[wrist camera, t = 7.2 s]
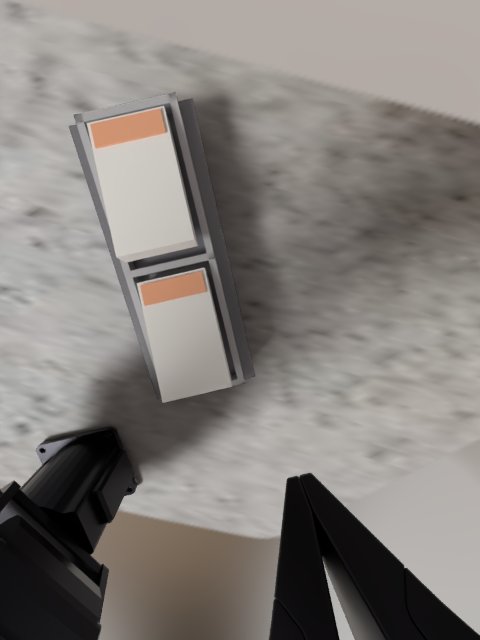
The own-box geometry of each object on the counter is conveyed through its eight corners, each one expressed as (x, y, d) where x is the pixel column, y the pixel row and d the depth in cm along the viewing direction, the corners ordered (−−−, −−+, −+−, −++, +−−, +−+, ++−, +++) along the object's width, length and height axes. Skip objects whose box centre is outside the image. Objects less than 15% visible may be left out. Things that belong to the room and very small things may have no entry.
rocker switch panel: (167, 380, 20) (153, 406, 16) (96, 152, 16) (57, 116, 13) (251, 360, 20) (256, 381, 16) (198, 129, 16) (189, 86, 13)
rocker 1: (125, 262, 13) (114, 256, 12) (98, 138, 13) (85, 121, 12) (198, 246, 13) (194, 238, 12) (169, 122, 13) (163, 103, 12)
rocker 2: (167, 397, 15) (161, 403, 14) (143, 286, 15) (135, 282, 14) (232, 383, 15) (231, 387, 14) (206, 271, 15) (204, 267, 14)
